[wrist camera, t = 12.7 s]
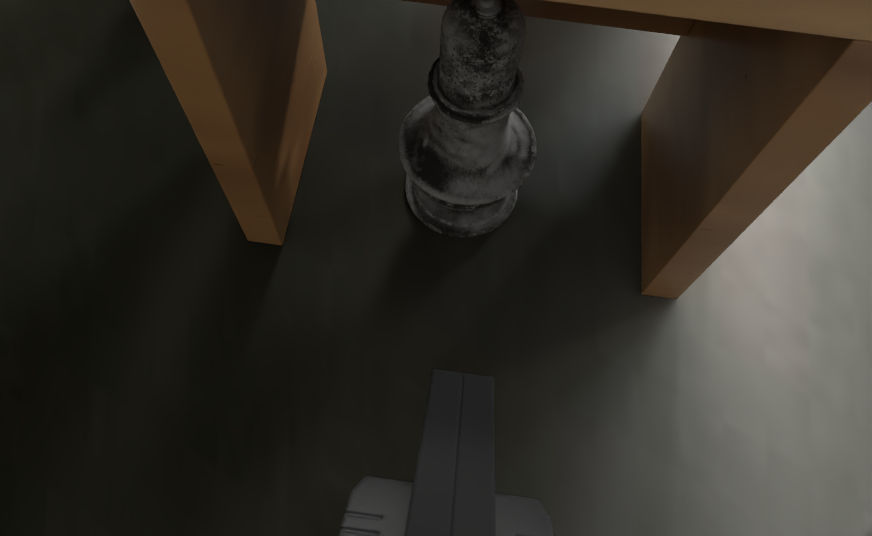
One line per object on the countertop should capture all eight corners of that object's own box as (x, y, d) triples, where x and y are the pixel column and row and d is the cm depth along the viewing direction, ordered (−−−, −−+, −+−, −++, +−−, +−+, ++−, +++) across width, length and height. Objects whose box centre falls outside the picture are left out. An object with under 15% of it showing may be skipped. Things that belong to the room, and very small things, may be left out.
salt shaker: (533, 149, 32) (596, -66, 21) (512, 255, 30) (571, 73, 19) (415, 125, 33) (417, -100, 22) (385, 228, 30) (371, 33, 19)
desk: (700, 302, 29) (1026, 0, 14) (225, 238, 30) (24, -124, 14) (693, 119, 33) (938, -272, 18) (277, 65, 34) (164, -361, 18)
